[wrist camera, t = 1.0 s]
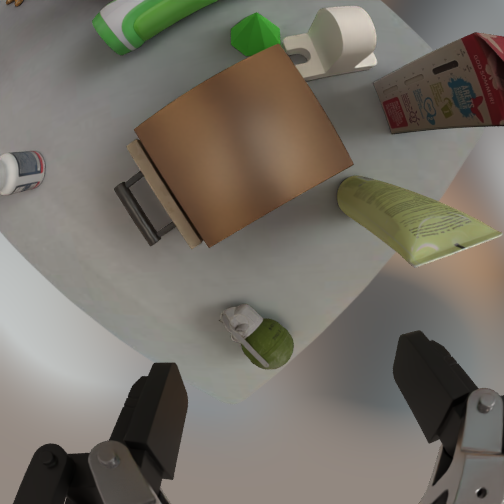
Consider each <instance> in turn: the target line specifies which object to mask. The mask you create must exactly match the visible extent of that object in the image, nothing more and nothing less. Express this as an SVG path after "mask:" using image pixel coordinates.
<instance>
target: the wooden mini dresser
mask: <svg viewBox="0 0 504 504" xmlns="http://www.w3.org/2000/svg"><path fill="white" fill-rule="evenodd" d="M134 131H135V133H136V134H137V136H138V138H139V139H140V141H141V142H142V144H143V146H144V147H145V149H146V151H147V152H148V154H149V156H150V157H151V159H152V160H153V162H154V164H155V165H156V167H157V168H158V170H159V172H160V173H161V175H162V176H163V178H164V180H165V181H166V183H167V184H168V186H169V188H170V189H171V191H172V192H173V194H174V195H175V197H176V199H177V200H178V202H179V203H180V205H181V206H182V208H183V209H184V211H185V213H186V214H187V216H188V217H189V219H190V220H191V222H192V223H193V225H194V226H195V228H196V229H197V231H198V232H199V234H200V235H201V237H202V238H203V240H204V242H205V243H206V245H207V246H208V247H209V248H210V247H212V246H213V245H215V244H217V243H218V242H220V241H222V240H223V239H225V238H227V237H228V236H230V235H232V234H234V233H235V232H237V231H239V230H240V229H242V228H244V227H245V226H247V225H249V224H250V223H252V222H254V221H256V220H257V219H259V218H261V217H262V216H264V215H266V214H268V213H269V212H271V211H273V210H274V209H276V208H278V207H280V206H281V205H283V204H285V203H287V202H288V201H290V200H292V199H294V198H295V197H297V196H299V195H301V194H302V193H304V192H306V191H308V190H309V189H311V188H313V187H315V186H316V185H318V184H320V183H322V182H324V181H325V180H327V179H329V178H331V177H332V176H334V175H336V174H338V173H340V172H341V171H343V170H345V169H347V168H349V167H350V166H352V165H354V164H353V162H352V160H351V158H350V156H349V154H348V152H347V150H346V148H345V147H344V145H343V143H342V141H341V139H340V137H339V136H338V134H337V132H336V130H335V128H334V127H333V125H332V123H331V121H330V120H329V118H328V116H327V115H326V113H325V111H324V110H323V108H322V106H321V105H320V103H319V102H318V100H317V98H316V97H315V95H314V94H313V92H312V90H311V89H310V87H309V86H308V84H307V83H306V81H305V80H304V78H303V77H302V75H301V74H300V72H299V71H298V69H297V68H296V66H295V65H294V64H293V62H292V61H291V59H290V58H289V57H288V55H287V54H286V52H285V51H284V50H283V48H282V47H281V46H280V44H276V45H274V46H271V47H269V48H267V49H265V50H263V51H261V52H258V53H256V54H254V55H252V56H250V57H248V58H246V59H244V60H242V61H240V62H238V63H236V64H235V65H233V66H231V67H229V68H227V69H225V70H223V71H222V72H220V73H218V74H216V75H214V76H213V77H211V78H209V79H208V80H206V81H204V82H203V83H201V84H199V85H198V86H196V87H194V88H193V89H191V90H190V91H188V92H186V93H185V94H183V95H182V96H180V97H179V98H177V99H176V100H174V101H173V102H171V103H170V104H168V105H167V106H165V107H164V108H162V109H161V110H160V111H158V112H157V113H155V114H154V115H153V116H151V117H150V118H148V119H147V120H146V121H144V122H143V123H142V124H140V125H139V126H138V127H136V128H135V129H134Z"/></svg>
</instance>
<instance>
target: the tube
mask: <svg viewBox="0 0 504 504" xmlns="http://www.w3.org/2000/svg"><path fill="white" fill-rule="evenodd" d="M337 201H338V205H339V207H340V209H341V210H342V211H343V212H344V213H345V214H346V215H347V216H349V217H350V218H352V219H353V220H355V221H356V222H358V223H359V224H360V225H362V226H363V227H365V228H366V229H368V230H369V231H370V232H372V233H373V234H374V235H376V236H377V237H378V238H380V239H381V240H382V241H384V242H385V243H386V244H387V245H389V246H390V247H391V248H393V249H394V250H395V251H396V252H398V253H399V254H400V255H401V256H402V257H403V258H404V259H405V260H406V261H407V262H408V263H409V264H411V266H413V267H414V268H416V267H419V266H421V265H425V264H427V263H430V262H433V261H436V260H438V259H441V258H444V257H447V256H450V255H453V254H455V253H458V252H460V251H463V250H465V249H469V248H471V247H474V246H477V245H479V244H482V243H485V242H487V241H490V240H493V239H495V238H498V237H500V236H502V235H503V233H501V232H499V231H496V230H495V229H493V228H491V227H490V226H488V225H486V224H484V223H483V222H481V221H479V220H477V219H475V218H473V217H471V216H469V215H467V214H465V213H463V212H461V211H459V210H457V209H454V208H452V207H450V206H448V205H445V204H443V203H441V202H438V201H436V200H433V199H431V198H428V197H426V196H423V195H420V194H418V193H415V192H412V191H409V190H406V189H404V188H401V187H398V186H395V185H392V184H388V183H385V182H381V181H378V180H374V179H371V178H367V177H363V176H351V177H349V178H347V179H345V180H344V181H343V182H342V183H341V185H340V187H339V189H338V192H337Z"/></svg>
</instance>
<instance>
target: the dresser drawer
mask: <svg viewBox="0 0 504 504" xmlns="http://www.w3.org/2000/svg"><path fill="white" fill-rule="evenodd" d="M126 147H127V149H128V151H129V152H130V154H131V156H132V157H133V159H134V161H135V162H136V164H137V166H138V167H139V169H140V170H141V171H139V172H138V173H137V174H136V175H134V176H133V177H132V178H130V179H129V180H128V181H127V182H122V183H120V184H119V185H117V186H116V187H115V188H114V191H115V192H116V194H117V196H118V197H119V199H120V200H121V202H122V204H123V205H124V207H125V208H126V210H127V212H128V213H129V215H130V216H131V218H132V219H133V221H134V223H135V224H136V226H137V227H138V229H139V230H140V232H141V233H142V235H143V236H144V238H145V239H146V241H147V242H148V244H149V245H150V246H152V245H154V244H155V243H156V242H158V241H159V240H160V239H161V236H163V235H164V234H166V233H167V232H169V231H170V230H172V229H173V228H175V227H177V228H178V230H179V231H180V233H181V234H182V236H183V237H184V239H185V240H186V242H187V243H188V245H189V246H190V248H191V249H193V248H194V247H196V246H197V245H199V244H201V243H202V241H203V238H202V237H201V235H200V234H199V232H198V231H197V229H196V228H195V226H194V225H193V223H192V222H191V220H190V219H189V217H188V216H187V214H186V213H185V211H184V209H183V208H182V206H181V205H180V203H179V202H178V200H177V199H176V197H175V195H174V194H173V192H172V191H171V189H170V188H169V186H168V184H167V183H166V181H165V180H164V178H163V176H162V175H161V173H160V172H159V170H158V168H157V167H156V165H155V164H154V162H153V160H152V159H151V157H150V156H149V154H148V152H147V151H146V149H145V147H144V146H143V144H142V142H141V141H140V140H139V139H135V140H134V141H133V142H131V143H130V144H129V145H128V146H126ZM142 177H145V179H146V180H147V182H148V183H149V185H150V187H151V188H152V190H153V191H154V193H155V194H156V196H157V198H158V199H159V201H160V202H161V204H162V205H163V207H164V209H165V210H166V212H167V213H168V215H169V216H170V218H171V219H172V221H173V222H171V223H170V224H168V225H167V226H165V227H164V228H162V229H161V230H159V231H158V232H157V231H156V230H155V228H154V227H153V225H152V223H151V222H150V220H149V219H148V217H147V216H146V214H145V213H144V211H143V210H142V208H141V206H140V205H139V203H138V202H137V200H136V198H135V197H134V195H133V194H132V192H131V190H130V189H129V187H131V186H132V185H133V184H135V183H136V182H137V181H138V180H140V179H141V178H142Z"/></svg>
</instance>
